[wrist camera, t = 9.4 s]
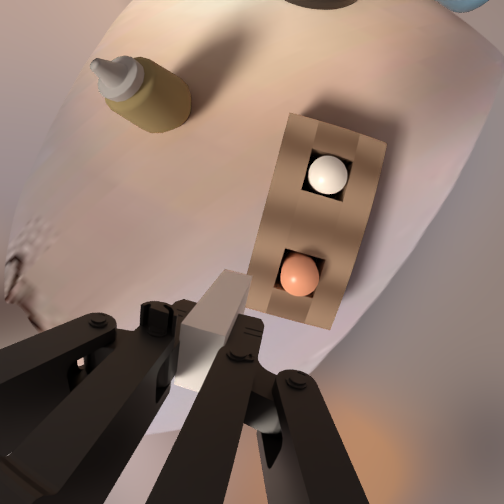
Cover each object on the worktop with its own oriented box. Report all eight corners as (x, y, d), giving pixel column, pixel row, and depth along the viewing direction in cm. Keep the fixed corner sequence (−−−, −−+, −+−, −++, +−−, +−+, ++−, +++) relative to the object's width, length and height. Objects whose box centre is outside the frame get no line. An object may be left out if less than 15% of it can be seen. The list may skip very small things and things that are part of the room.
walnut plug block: (289, 125, 34) (289, 112, 28) (372, 150, 33) (387, 143, 27) (245, 288, 39) (238, 305, 33) (324, 310, 38) (329, 330, 32)
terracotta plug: (287, 244, 35) (286, 254, 30) (318, 253, 35) (324, 265, 29) (278, 274, 36) (276, 290, 31) (308, 283, 36) (312, 300, 30)
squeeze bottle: (169, 74, 34) (100, 17, 17) (211, 101, 34) (154, 40, 17) (135, 120, 36) (49, 87, 19) (174, 149, 36) (93, 123, 19)
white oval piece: (310, 157, 34) (314, 150, 28) (341, 167, 34) (351, 162, 28) (302, 188, 35) (305, 187, 29) (333, 197, 35) (341, 198, 29)
